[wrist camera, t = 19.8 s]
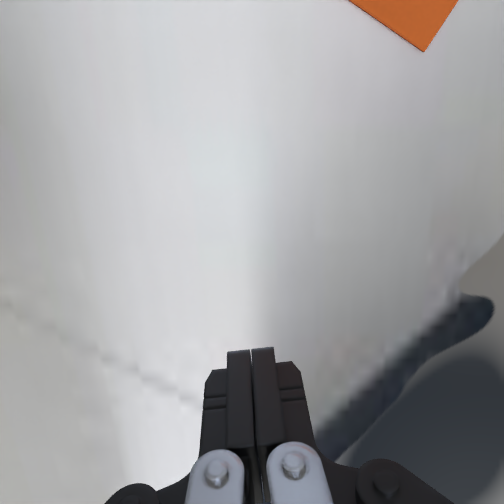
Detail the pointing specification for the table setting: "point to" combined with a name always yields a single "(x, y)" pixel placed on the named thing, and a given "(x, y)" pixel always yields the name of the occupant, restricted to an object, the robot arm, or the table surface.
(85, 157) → the table surface
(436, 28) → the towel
